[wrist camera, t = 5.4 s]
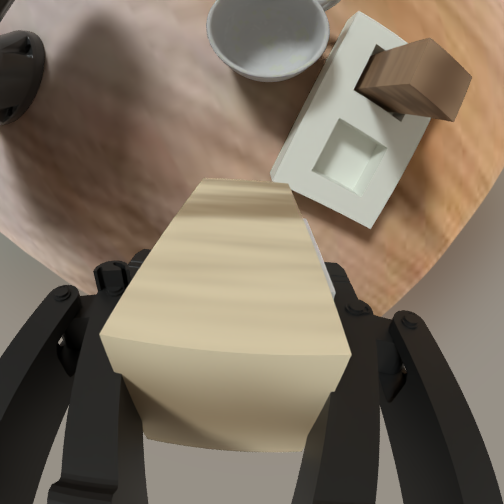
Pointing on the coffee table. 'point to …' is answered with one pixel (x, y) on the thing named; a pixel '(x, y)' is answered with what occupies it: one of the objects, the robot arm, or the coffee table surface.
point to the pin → (230, 324)
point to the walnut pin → (415, 81)
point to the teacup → (269, 36)
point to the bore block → (349, 132)
